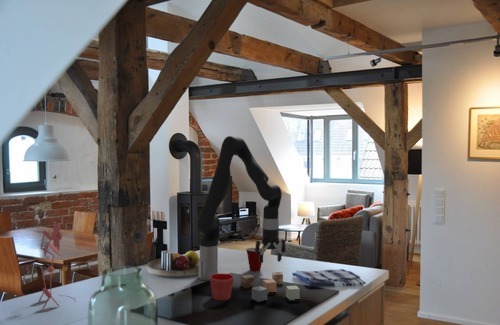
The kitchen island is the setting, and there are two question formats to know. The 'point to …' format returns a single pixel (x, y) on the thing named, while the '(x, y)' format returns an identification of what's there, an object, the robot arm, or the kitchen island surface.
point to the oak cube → (278, 277)
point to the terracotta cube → (270, 285)
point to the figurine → (56, 238)
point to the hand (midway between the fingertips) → (270, 261)
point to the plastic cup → (253, 259)
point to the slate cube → (259, 293)
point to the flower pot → (221, 286)
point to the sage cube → (292, 292)
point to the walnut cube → (247, 281)
